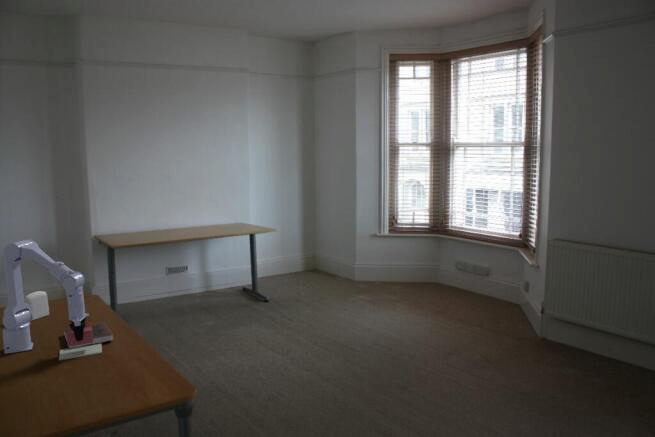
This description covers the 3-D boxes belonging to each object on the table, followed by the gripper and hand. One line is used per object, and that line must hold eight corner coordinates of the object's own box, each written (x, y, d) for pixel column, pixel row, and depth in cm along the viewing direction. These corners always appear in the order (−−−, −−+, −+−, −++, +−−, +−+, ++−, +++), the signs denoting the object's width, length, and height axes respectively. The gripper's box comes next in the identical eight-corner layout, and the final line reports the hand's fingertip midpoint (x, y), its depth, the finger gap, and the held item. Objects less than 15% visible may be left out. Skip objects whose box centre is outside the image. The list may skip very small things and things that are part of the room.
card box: (93, 339, 224) (91, 326, 223) (93, 342, 220) (91, 330, 219) (68, 342, 221) (66, 330, 220) (67, 346, 217) (66, 333, 216)
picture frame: (64, 335, 242) (69, 349, 223) (63, 329, 241) (68, 342, 223) (105, 327, 250) (113, 340, 231) (105, 322, 249) (113, 334, 231)
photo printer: (31, 321, 262) (28, 295, 260) (25, 320, 264) (22, 294, 262) (51, 315, 271) (48, 289, 269) (45, 314, 273) (42, 288, 271)
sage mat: (59, 360, 213) (59, 358, 213) (60, 351, 223) (60, 349, 222) (102, 353, 219) (102, 351, 219) (101, 344, 228) (101, 343, 228)
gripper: (87, 307, 213) (91, 342, 215) (87, 298, 226) (90, 331, 228) (66, 310, 210) (70, 346, 212) (68, 301, 224) (71, 334, 226)
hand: (79, 338), depth 220 cm, fingers closed on card box, 4 cm apart
